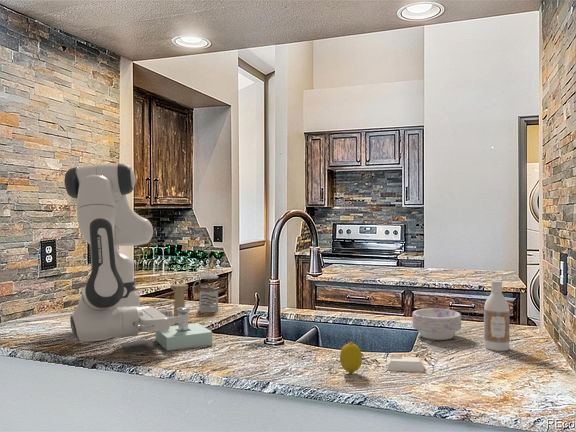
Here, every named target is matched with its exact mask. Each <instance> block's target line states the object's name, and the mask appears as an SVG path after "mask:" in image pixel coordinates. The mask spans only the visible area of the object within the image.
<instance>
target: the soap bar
mask: <svg viewBox="0 0 576 432" xmlns="http://www.w3.org/2000/svg"><path fill="white" fill-rule="evenodd" d="M386 367H387V370H388V371H398V372H399V371H400V372H402V371H403V372H424V371H425V366H424V363H423V361H422V359H420V358H419V357H417V356H416V357H412V356H411V357H410V356H407V357H406V356H389V357H387V358H386Z"/></svg>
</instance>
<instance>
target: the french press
mask: <svg viewBox="0 0 576 432" xmlns="http://www.w3.org/2000/svg"><path fill="white" fill-rule="evenodd" d="M205 253H206V254H207V256H208V259H207V261H208V268H207V269H208V270H207V271H208V272H206V273H203V274H202V275H200V276H198V279H199V280H196V281H195V282H194V283H193V285H192V294H193V295H194V296H195V297H196V298H197V299H198V308H197V311H198V312H201V313H213V312H214V313H215V312H218V311H221V308H220V306H219V289H217V288H218V285H213V284H205V285H200V284H201V280H202V279H203V280H216V279H219V276H218V275H217V274H215V273H212V272H210V254H211V253H212V252H211V250H210V249H208V250H206V251H205ZM197 282H198V284H199V285H200V289H199V296H198V295H197V294H196V292H195V285H196V283H197Z"/></svg>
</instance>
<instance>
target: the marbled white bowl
mask: <svg viewBox="0 0 576 432" xmlns="http://www.w3.org/2000/svg"><path fill="white" fill-rule="evenodd" d="M411 314H412V316H411V317H412V319H411V322H412V328H413V329H415V330H417V331H418V333H419V335H420V336H421V337H422V338H424V339H428V340H433V341H446V340H450V339H452V338H454V336H455V334H456V332H459V331H461V329H462V314H461V313H460V312H458V311H455V310H453V309H447V308H422V309H421V308H420V309H416V310H414V311H412V313H411Z"/></svg>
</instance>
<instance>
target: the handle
mask: <svg viewBox="0 0 576 432" xmlns="http://www.w3.org/2000/svg"><path fill="white" fill-rule="evenodd" d="M170 289H171V290H173V291H174V302H173V303H174V305H173V317H174V316H178V312H177V308H180V307H186V302H185V291H187V290H188V289H189V284H187V283H186V284H185V283H174V284H170ZM177 325H178V323H175V324H174V326H177Z"/></svg>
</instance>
